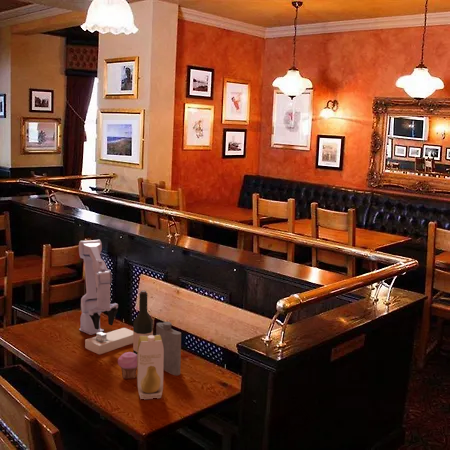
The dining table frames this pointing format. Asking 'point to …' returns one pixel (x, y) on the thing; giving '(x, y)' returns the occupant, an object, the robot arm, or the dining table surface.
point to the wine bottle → (142, 321)
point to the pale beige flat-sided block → (110, 341)
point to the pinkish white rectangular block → (101, 337)
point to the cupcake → (128, 364)
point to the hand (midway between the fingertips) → (103, 326)
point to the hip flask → (170, 347)
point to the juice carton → (150, 366)
